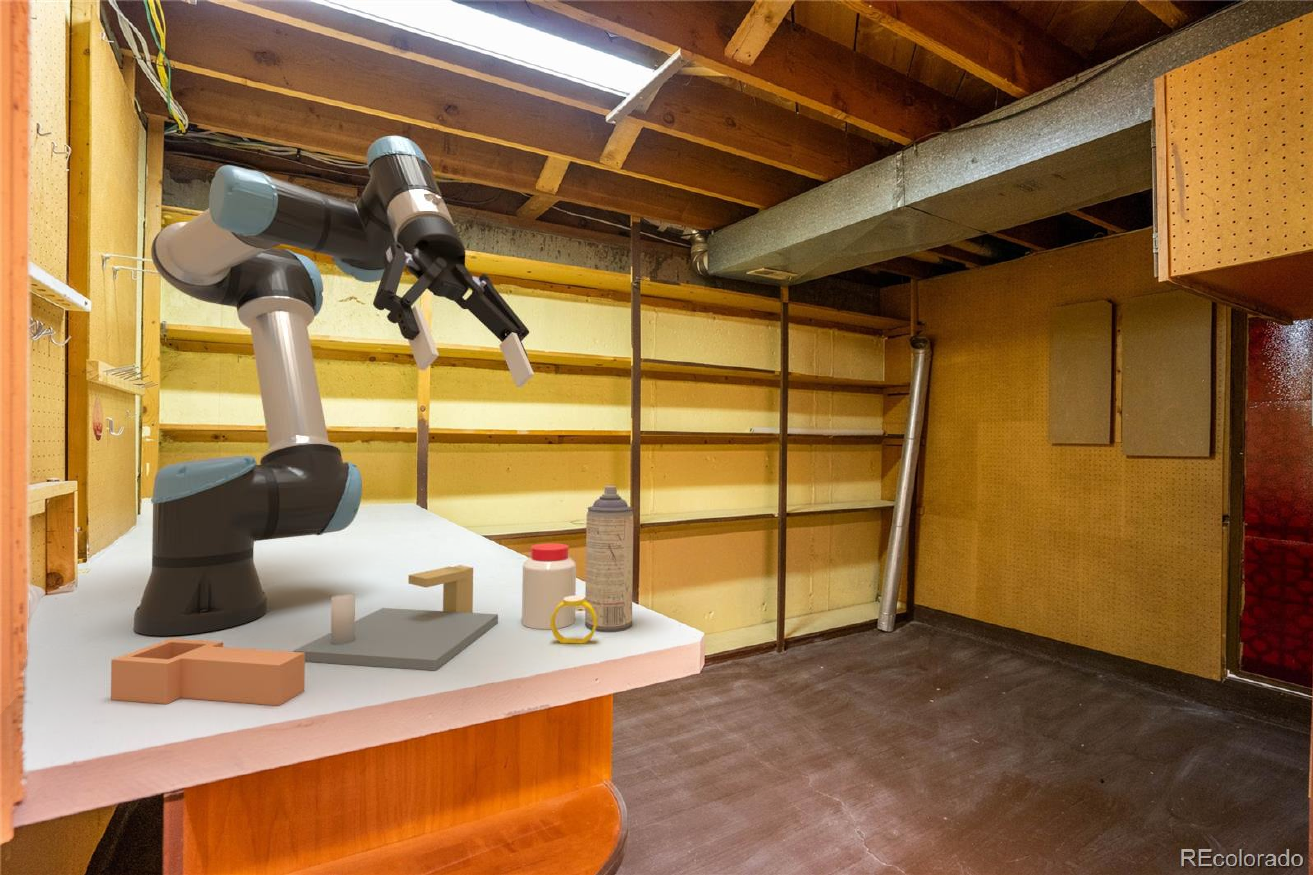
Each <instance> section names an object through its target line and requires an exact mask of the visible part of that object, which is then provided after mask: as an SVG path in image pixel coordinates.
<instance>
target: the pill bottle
mask: <svg viewBox="0 0 1313 875" xmlns="http://www.w3.org/2000/svg"><path fill="white" fill-rule="evenodd" d="M569 550H570V549H569V545H568V544H565V543H552V542H549V543H548V542H546V543H539V544H534V545H531V547H530V557H529V558H527V559H526V561H525V562H524V563H523V564H522V581H521V582H522V587H521V588H522V590H521V591H522V593H521V600H522V601H521V603H522V604H521V623H522V625H523V626H524V627H527V628H530V629H534V630H551V617H552V614H553V612H554V611H555V609H556V608H557V606H558V605H559V604H560V603H562V602H563V599H564V598H565V597H568V596H577V593H576V592H577V591H576V590H577V589H576V585H577V582H576V581H577V579H576V577H577V563H576V561H574V559H572V558H571V557H570V556H569V554H570V553H569ZM575 621H576V606H566V605H565V606H563V607H562V608H560V609H559V610H558V612H557V613H556V616H555V625H556V628H557V630H558V629H563V628H566V627H569V626H571V625H573V624H574V623H575Z"/></svg>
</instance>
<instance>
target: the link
mask: <svg viewBox="0 0 1313 875" xmlns="http://www.w3.org/2000/svg"><path fill="white" fill-rule="evenodd" d="M110 664H111V665H110V666H111V668H110V700H113V701H123V702H134V703H135V702H139V703H148V704H149V703H150V704H161V705H168V704H170V703H173V702H174V701H177V700H178V699H192V700H204V701H205V700H206V701H216V702H217V701H218V702H228V703H239V704H240V703H241V704H253V705H266V706H267V705H268V706H276V707H277V706H281V705H283V704H284V703H286V702H287V701H289V700H291V699H293V698H294V697H296V696H298V695H299V694H301V693H303V692H305V684H306V683H305V681H306V680H305V678H306V676H305V673H306V672H305V671H306V665H305V664H306V662H305V653H303V652H293V651H286V650H271V649H258V648H257V649H256V648H255V649H254V648H241V647H229V646H228V647H225V646H224V641H214V640H213V641H212V640H203V639H201V640H199V639H186V638H169V639H166V640H164V641H161V642H158V643H155V644H151V645H150V646H147V647H144V648H141V649H137V650H135V651H132V652H129V653H126V654H123V655H121V656H118V657H116V658H112V659H111V663H110Z"/></svg>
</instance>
